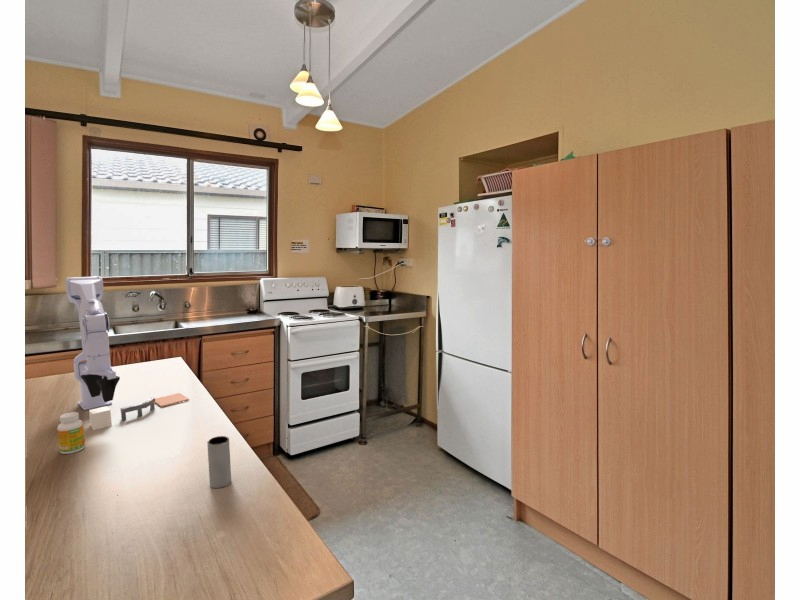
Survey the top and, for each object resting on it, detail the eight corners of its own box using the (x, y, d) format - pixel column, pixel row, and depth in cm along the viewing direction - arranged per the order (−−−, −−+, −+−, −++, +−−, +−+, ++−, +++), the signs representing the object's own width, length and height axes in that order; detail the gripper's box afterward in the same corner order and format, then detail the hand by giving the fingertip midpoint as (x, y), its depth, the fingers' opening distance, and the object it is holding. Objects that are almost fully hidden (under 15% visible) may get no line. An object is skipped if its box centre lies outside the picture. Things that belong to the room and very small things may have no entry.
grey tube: (223, 475, 100) (221, 434, 99) (235, 481, 97) (233, 439, 96) (205, 484, 96) (203, 441, 95) (217, 490, 94) (214, 446, 92)
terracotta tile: (152, 401, 149) (152, 399, 149) (179, 394, 155) (179, 392, 155) (161, 407, 143) (161, 405, 143) (189, 400, 149) (189, 398, 149)
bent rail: (118, 416, 135) (117, 405, 135) (154, 407, 143) (154, 397, 142) (122, 420, 132) (121, 409, 131) (159, 411, 140) (158, 400, 139)
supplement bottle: (71, 455, 110) (67, 419, 109) (54, 453, 111) (50, 418, 110) (90, 445, 115) (87, 411, 114) (73, 444, 116) (70, 410, 115)
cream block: (90, 425, 128) (88, 410, 128) (107, 421, 132) (106, 406, 131) (93, 430, 125) (92, 414, 125) (111, 425, 129) (110, 409, 128)
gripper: (70, 354, 126) (75, 398, 127) (95, 360, 118) (99, 407, 120) (97, 349, 132) (101, 391, 133) (122, 355, 124) (125, 399, 126)
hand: (102, 398), depth 127 cm, fingers open, 7 cm apart
